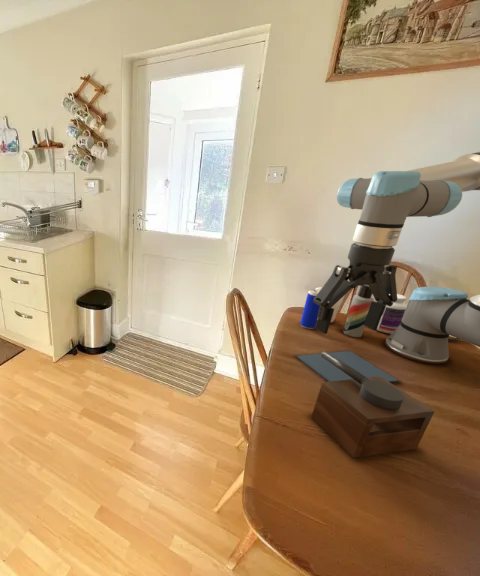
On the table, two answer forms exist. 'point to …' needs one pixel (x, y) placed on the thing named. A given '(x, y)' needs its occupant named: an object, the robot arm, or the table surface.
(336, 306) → the cup
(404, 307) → the pill bottle
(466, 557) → the table surface
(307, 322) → the beverage can
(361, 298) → the lotion bottle
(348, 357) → the mat
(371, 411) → the wooden box
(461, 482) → the table surface
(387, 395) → the small frying pan
